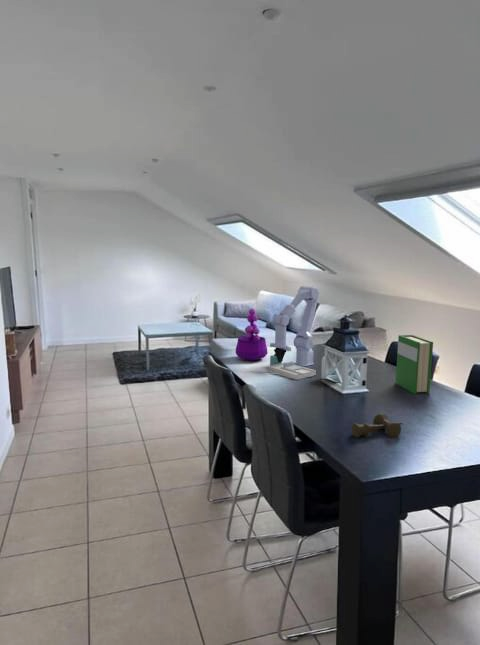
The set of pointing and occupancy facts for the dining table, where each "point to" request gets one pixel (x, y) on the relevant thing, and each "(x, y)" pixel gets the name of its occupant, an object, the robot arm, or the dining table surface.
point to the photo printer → (323, 368)
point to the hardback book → (414, 363)
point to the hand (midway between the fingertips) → (280, 362)
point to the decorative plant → (251, 341)
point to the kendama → (377, 427)
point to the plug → (274, 360)
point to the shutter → (291, 366)
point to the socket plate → (291, 371)
